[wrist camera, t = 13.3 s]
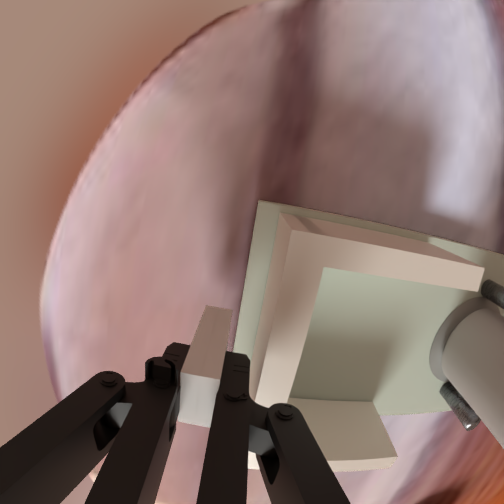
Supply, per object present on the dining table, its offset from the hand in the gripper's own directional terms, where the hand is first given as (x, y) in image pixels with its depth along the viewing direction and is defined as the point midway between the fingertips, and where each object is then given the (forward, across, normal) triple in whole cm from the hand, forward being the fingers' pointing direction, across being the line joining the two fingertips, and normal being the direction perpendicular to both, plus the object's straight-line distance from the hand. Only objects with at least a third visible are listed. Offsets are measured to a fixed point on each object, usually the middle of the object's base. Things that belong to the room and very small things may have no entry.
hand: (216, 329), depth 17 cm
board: (+3, -12, 0) cm, 13 cm away
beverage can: (+2, -19, 0) cm, 19 cm away
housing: (+2, -7, 0) cm, 8 cm away
